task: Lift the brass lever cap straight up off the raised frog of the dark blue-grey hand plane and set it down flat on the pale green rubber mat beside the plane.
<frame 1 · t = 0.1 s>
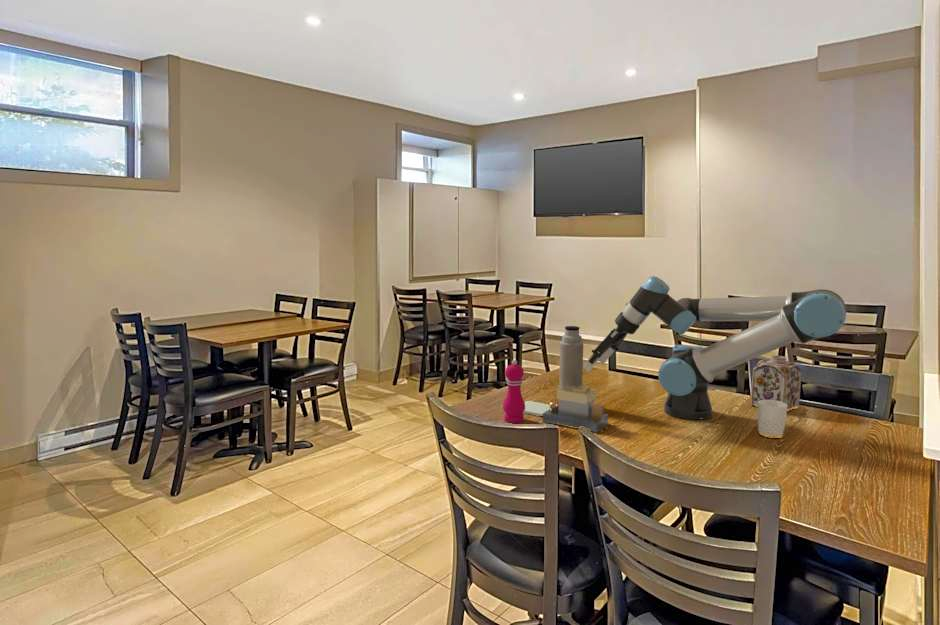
hand: (593, 365, 201), 15 cm above the table, tool tilted 35°, fingers open, 13 cm apart
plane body: (575, 422, 189), on the table
pepper mill: (513, 420, 192), on the table
decorative jar: (774, 407, 206), on the table
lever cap: (575, 398, 188), point 8 cm above the table, touching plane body
white cup: (770, 436, 178), on the table
rubber mat: (534, 409, 203), on the table
thermos bottle: (570, 405, 208), on the table
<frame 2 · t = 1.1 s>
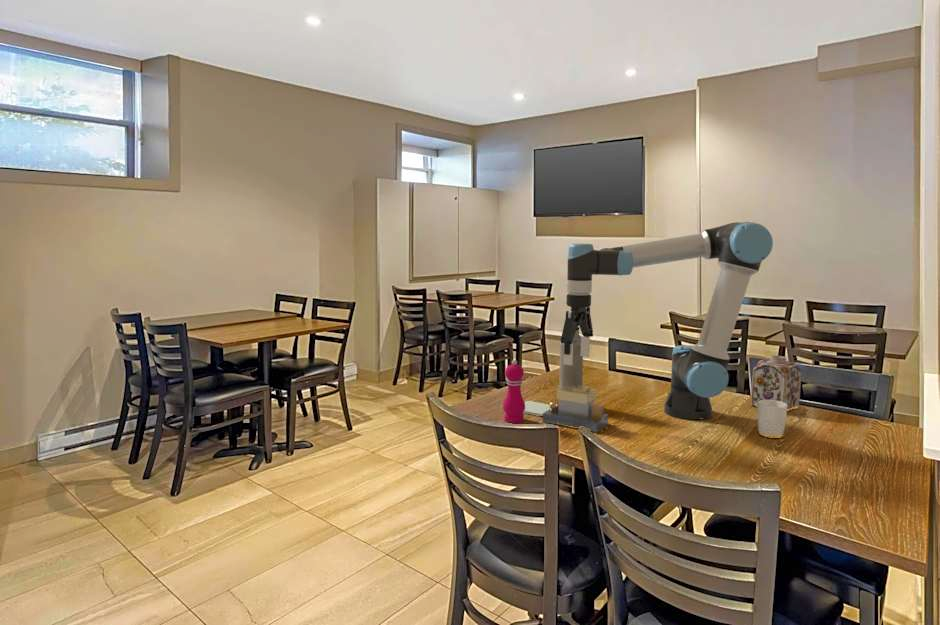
hand: (576, 360, 186), 20 cm above the table, tool pointing down, fingers open, 13 cm apart
nothing on the table moved.
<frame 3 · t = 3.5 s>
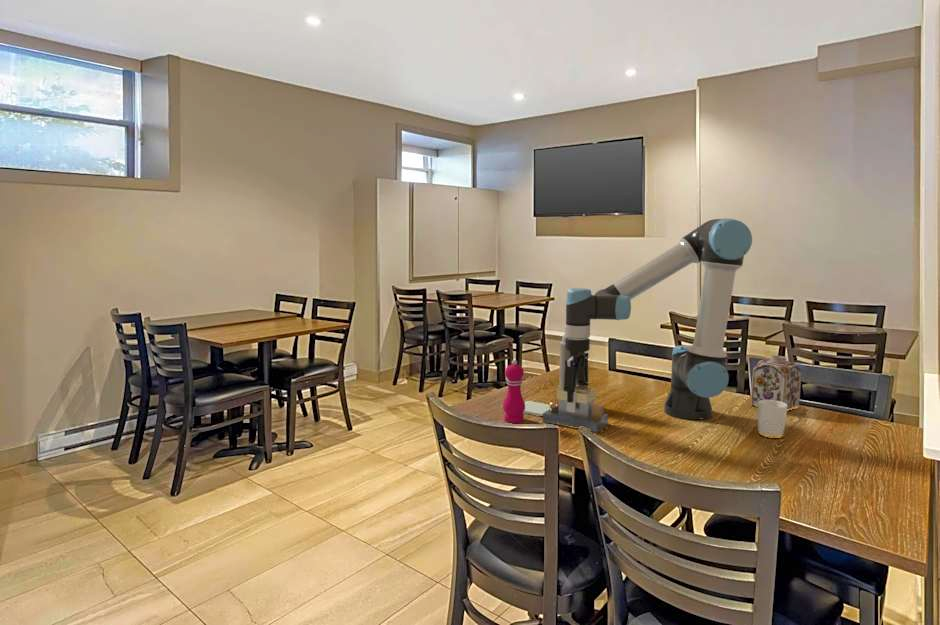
hand: (575, 408, 189), 5 cm above the table, tool pointing down, fingers closed on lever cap, 7 cm apart
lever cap: (576, 398, 188), point 8 cm above the table, touching gripper, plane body
everything else where it was.
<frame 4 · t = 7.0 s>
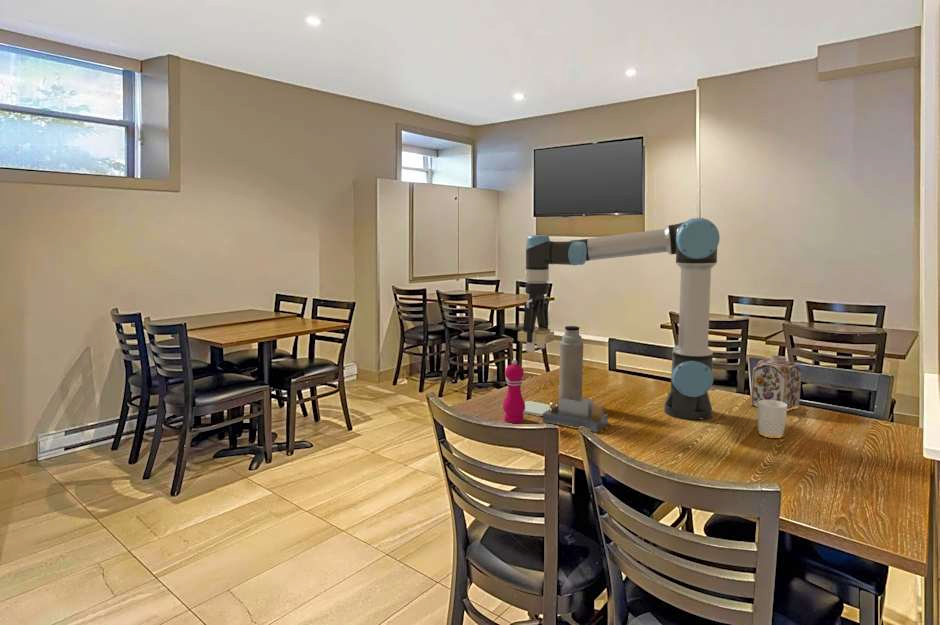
hand: (535, 349, 199), 21 cm above the table, tool pointing down, fingers closed on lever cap, 7 cm apart
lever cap: (535, 340, 199), point 24 cm above the table, touching gripper
everything else where it was.
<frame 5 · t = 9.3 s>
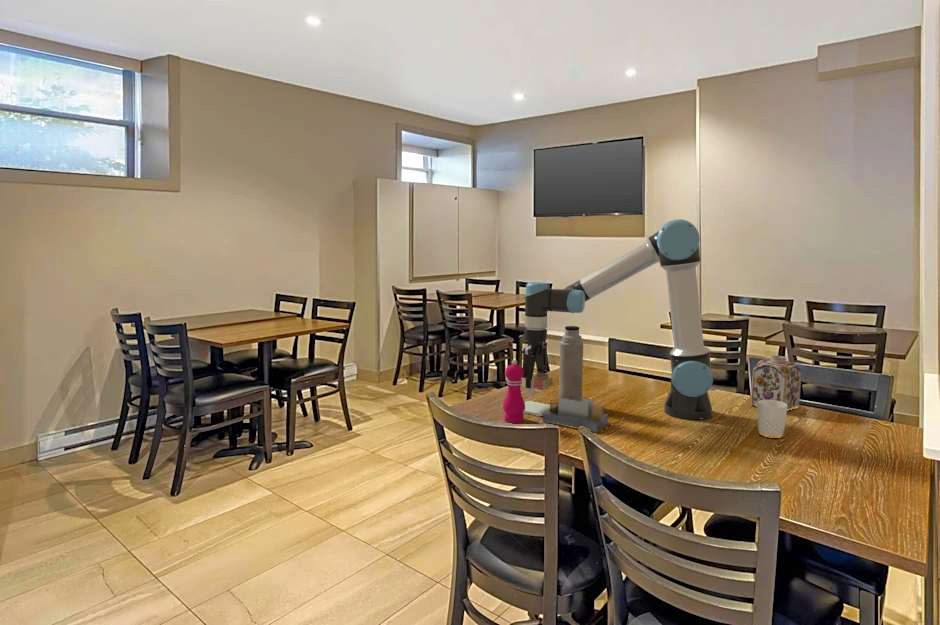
hand: (534, 394, 202), 6 cm above the table, tool pointing down, fingers closed on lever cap, 7 cm apart
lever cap: (534, 385, 201), point 9 cm above the table, touching gripper
everything else where it was.
when the fingers open (2 cm above the table, at t = 10.9 s): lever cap drops 4 cm, resting on rubber mat.
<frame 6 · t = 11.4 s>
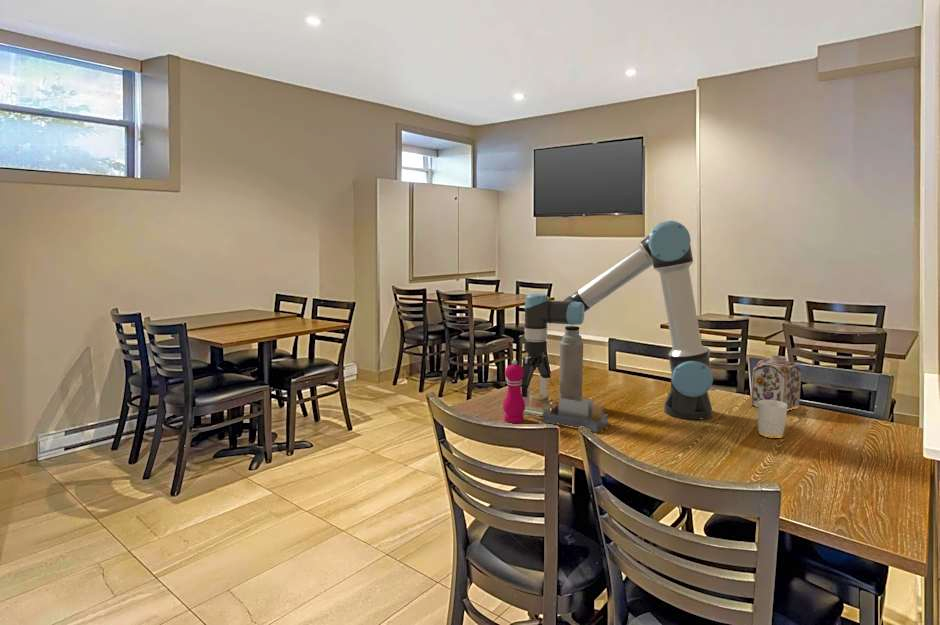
hand: (534, 400, 202), 3 cm above the table, tool pointing down, fingers open, 13 cm apart
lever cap: (534, 407, 202), point 1 cm above the table, touching rubber mat
everything else where it was.
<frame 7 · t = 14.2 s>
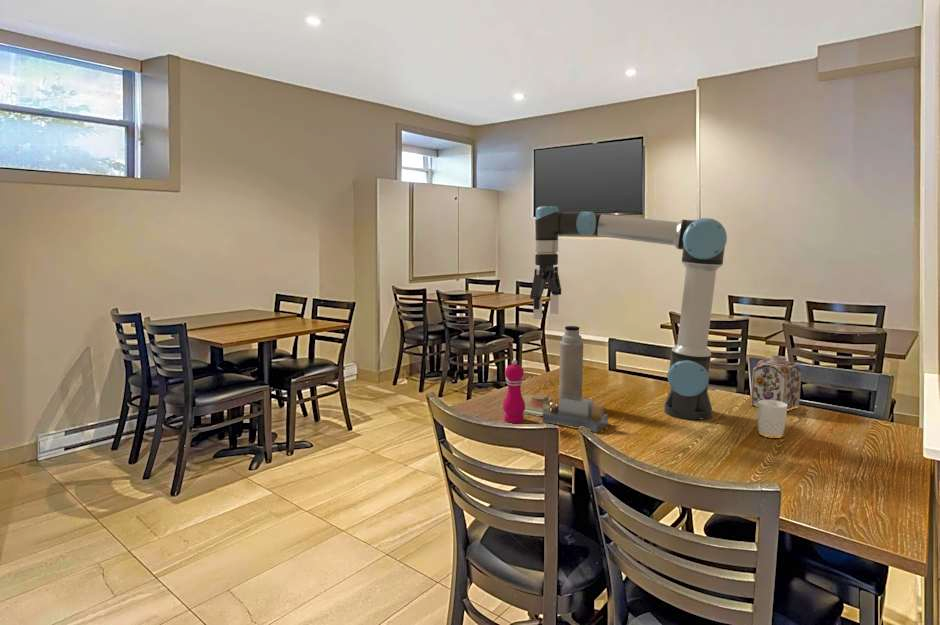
hand: (546, 316, 200), 32 cm above the table, tool pointing down, fingers open, 13 cm apart
nothing on the table moved.
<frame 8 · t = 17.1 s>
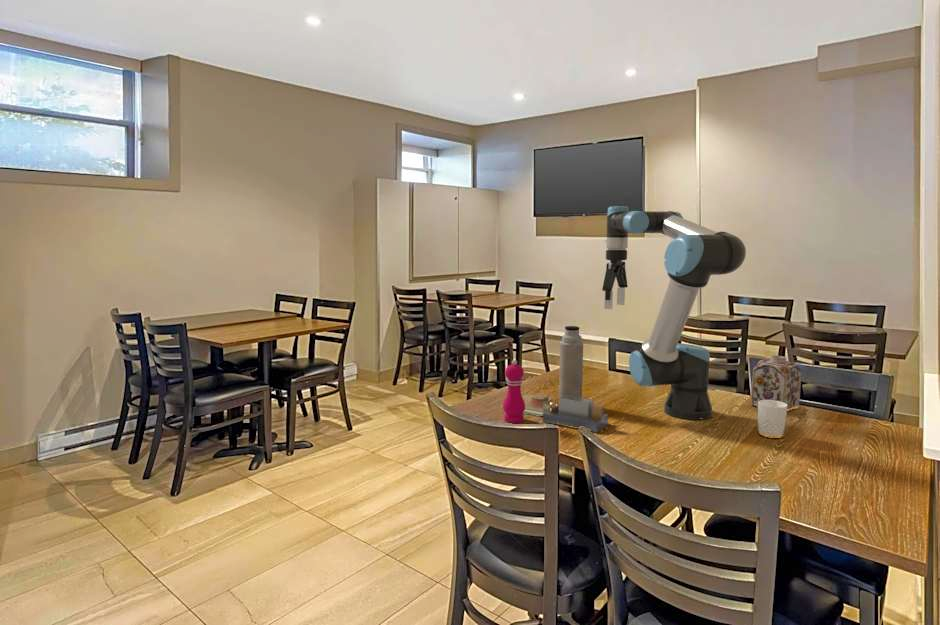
hand: (614, 306, 219), 33 cm above the table, tool pointing down, fingers open, 13 cm apart
nothing on the table moved.
at the end: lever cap inside the target area on the rubber mat (0.0 cm from its centre), point 1.0 cm above the rubber mat's base; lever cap tilted 0°; the gripper is holding nothing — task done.
